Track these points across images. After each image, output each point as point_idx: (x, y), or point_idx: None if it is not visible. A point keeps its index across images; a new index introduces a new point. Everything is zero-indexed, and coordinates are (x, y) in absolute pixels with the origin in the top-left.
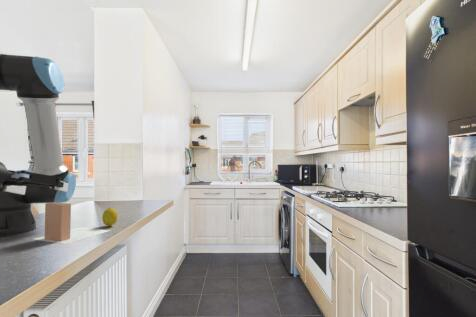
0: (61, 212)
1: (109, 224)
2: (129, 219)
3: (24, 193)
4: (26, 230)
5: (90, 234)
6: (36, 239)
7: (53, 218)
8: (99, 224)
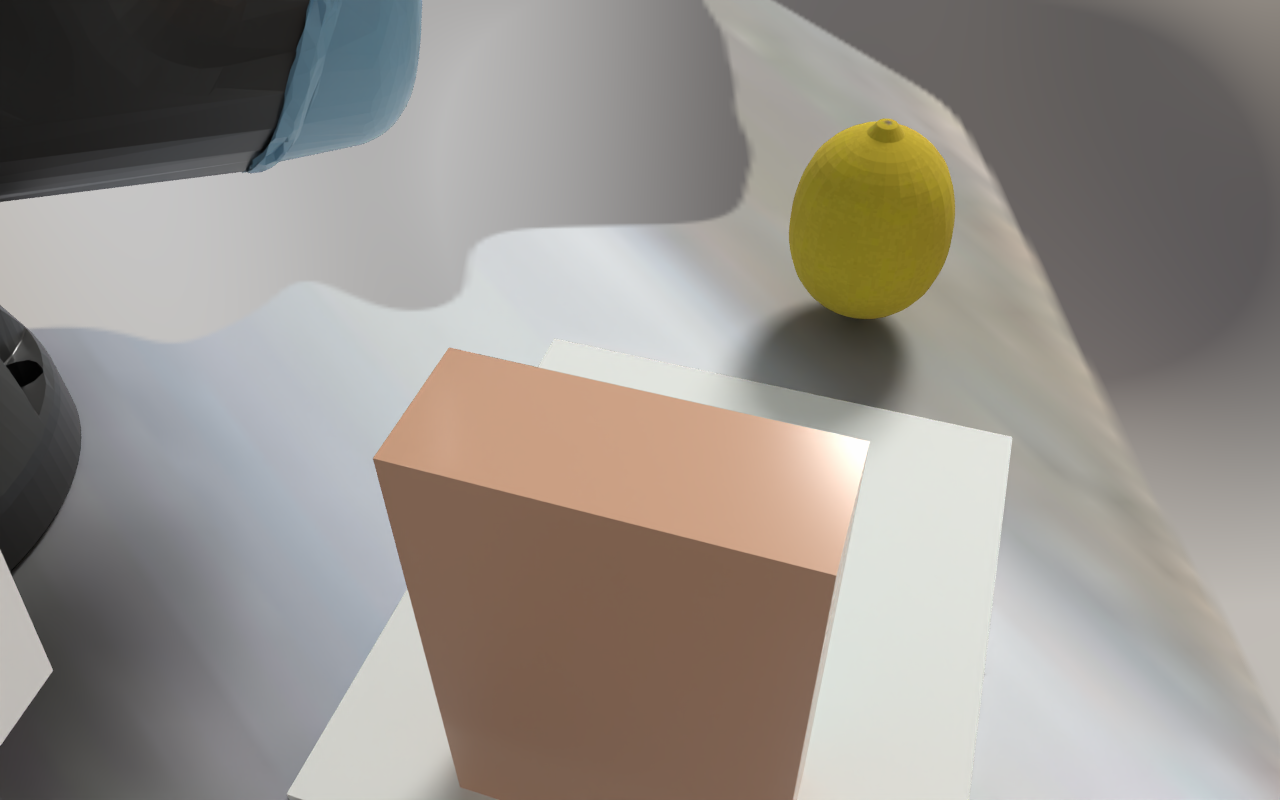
0: (814, 664)
1: (890, 314)
2: (835, 110)
3: (35, 659)
4: (33, 515)
5: (904, 582)
6: None
7: (611, 676)
8: (664, 243)
